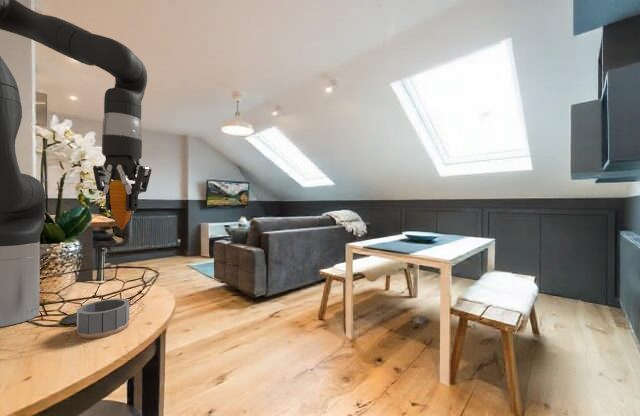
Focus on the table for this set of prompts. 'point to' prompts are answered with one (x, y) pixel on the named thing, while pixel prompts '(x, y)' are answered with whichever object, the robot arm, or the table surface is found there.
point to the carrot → (119, 203)
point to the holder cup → (102, 318)
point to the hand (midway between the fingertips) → (121, 210)
